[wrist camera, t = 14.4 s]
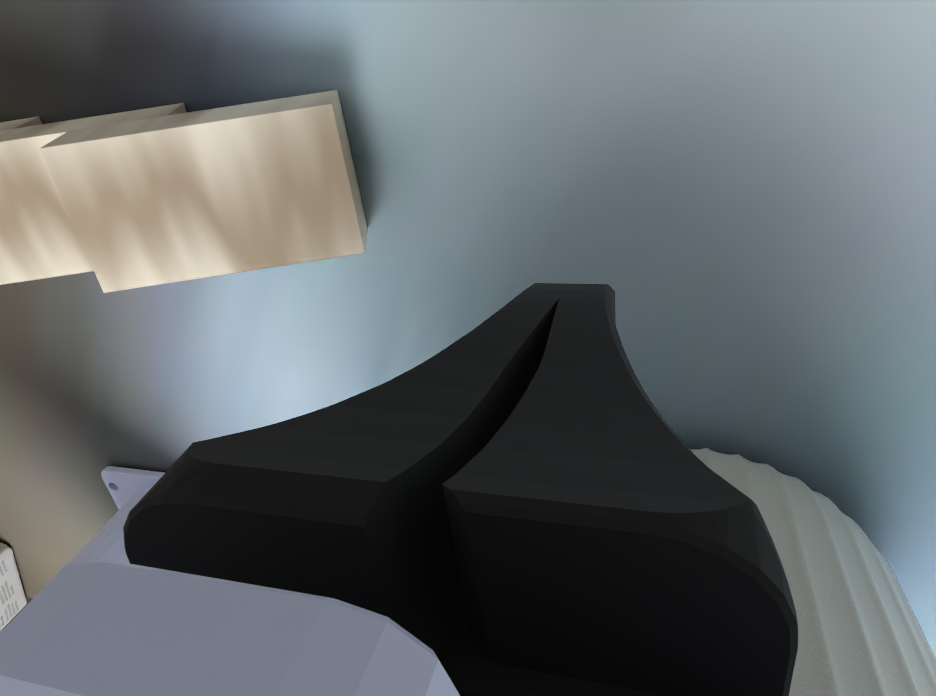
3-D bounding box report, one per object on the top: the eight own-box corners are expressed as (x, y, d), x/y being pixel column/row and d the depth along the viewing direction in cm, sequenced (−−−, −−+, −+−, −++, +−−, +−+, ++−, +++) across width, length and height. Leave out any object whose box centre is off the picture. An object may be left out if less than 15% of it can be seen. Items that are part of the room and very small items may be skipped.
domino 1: (212, 253, 23) (-26, 288, 23) (226, 231, 25) (5, 263, 25) (163, 117, 21) (-100, 157, 21) (183, 102, 22) (-60, 139, 23)
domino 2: (365, 253, 21) (103, 293, 21) (367, 229, 23) (126, 266, 23) (331, 103, 19) (39, 148, 19) (337, 89, 21) (69, 130, 21)
